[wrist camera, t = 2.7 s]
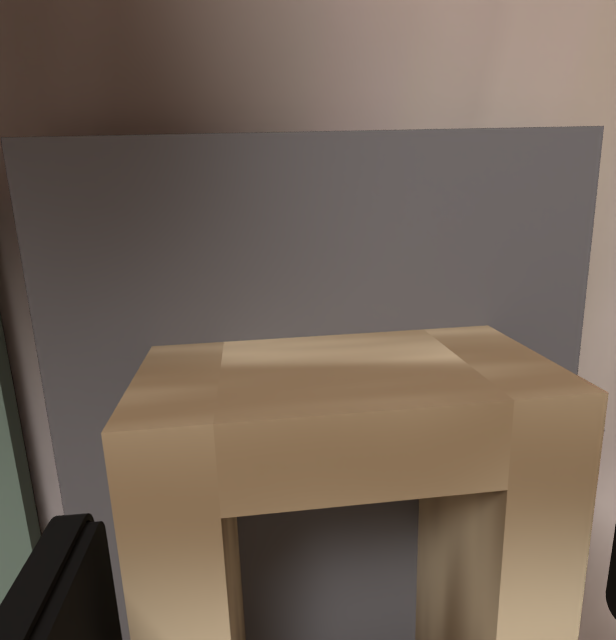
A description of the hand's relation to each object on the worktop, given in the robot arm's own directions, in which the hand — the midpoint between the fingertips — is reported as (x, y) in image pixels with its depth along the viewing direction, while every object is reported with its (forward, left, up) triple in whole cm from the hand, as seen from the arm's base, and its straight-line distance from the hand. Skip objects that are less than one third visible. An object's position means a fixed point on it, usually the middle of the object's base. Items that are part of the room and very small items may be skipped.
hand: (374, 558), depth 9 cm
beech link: (-4, 0, -3) cm, 5 cm away
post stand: (-3, 0, -5) cm, 6 cm away
